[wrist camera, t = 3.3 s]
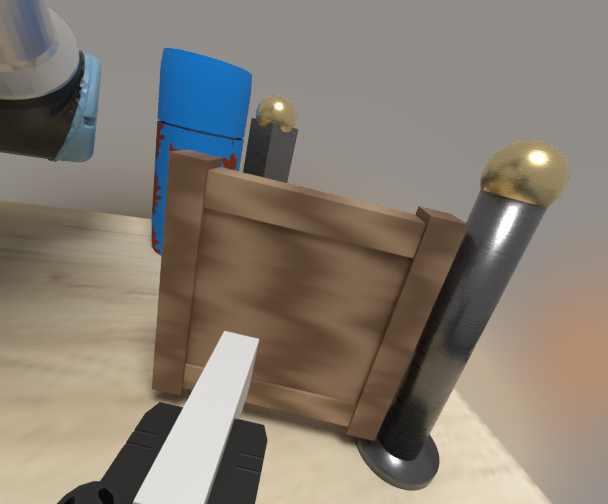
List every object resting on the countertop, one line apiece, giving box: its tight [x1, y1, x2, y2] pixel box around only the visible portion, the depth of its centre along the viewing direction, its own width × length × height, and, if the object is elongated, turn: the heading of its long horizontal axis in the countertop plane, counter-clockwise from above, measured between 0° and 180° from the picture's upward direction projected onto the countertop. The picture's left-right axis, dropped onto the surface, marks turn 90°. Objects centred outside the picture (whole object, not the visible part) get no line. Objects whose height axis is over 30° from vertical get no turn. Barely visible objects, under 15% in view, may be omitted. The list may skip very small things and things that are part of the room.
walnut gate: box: [152, 150, 469, 441], centre depth 20 cm, size 16×2×16 cm, turn 86°
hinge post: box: [356, 140, 570, 490], centre depth 20 cm, size 6×6×22 cm
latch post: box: [243, 95, 298, 183], centre depth 31 cm, size 6×6×22 cm
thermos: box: [152, 48, 252, 256], centre depth 43 cm, size 11×11×25 cm
